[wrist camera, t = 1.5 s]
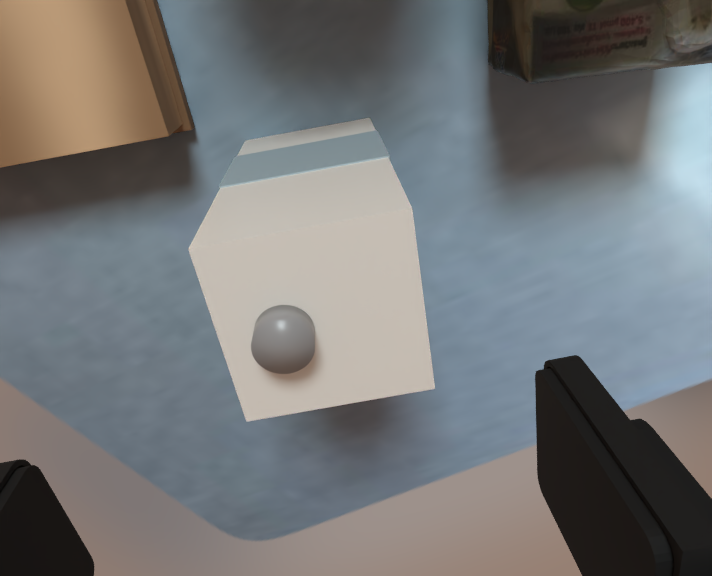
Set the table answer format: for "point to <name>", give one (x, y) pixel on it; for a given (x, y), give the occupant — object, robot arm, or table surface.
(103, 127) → the plinth
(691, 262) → the table surface
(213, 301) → the slim carton
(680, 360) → the table surface
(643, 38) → the beverage carton
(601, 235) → the table surface
